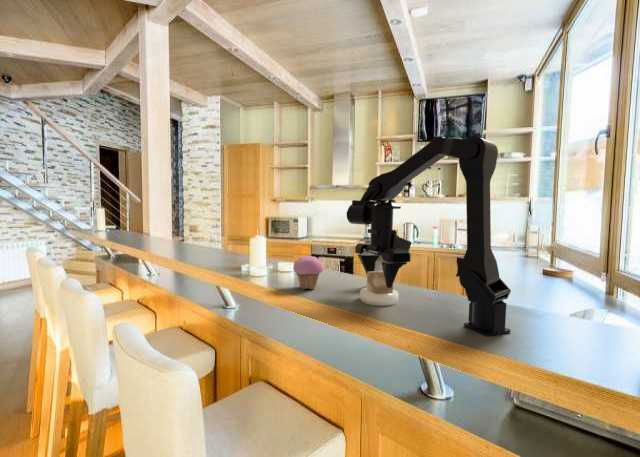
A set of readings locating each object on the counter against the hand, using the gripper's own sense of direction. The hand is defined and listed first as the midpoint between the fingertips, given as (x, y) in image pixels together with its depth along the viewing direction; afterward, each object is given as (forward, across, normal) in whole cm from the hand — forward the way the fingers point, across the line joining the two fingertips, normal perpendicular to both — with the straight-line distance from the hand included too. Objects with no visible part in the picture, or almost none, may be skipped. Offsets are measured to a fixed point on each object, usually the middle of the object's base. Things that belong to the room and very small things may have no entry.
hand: (379, 283), depth 91 cm
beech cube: (+2, 0, 0) cm, 2 cm away
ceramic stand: (+4, 0, 0) cm, 4 cm away
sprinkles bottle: (+5, +14, -8) cm, 17 cm away
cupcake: (+5, +18, +14) cm, 23 cm away
